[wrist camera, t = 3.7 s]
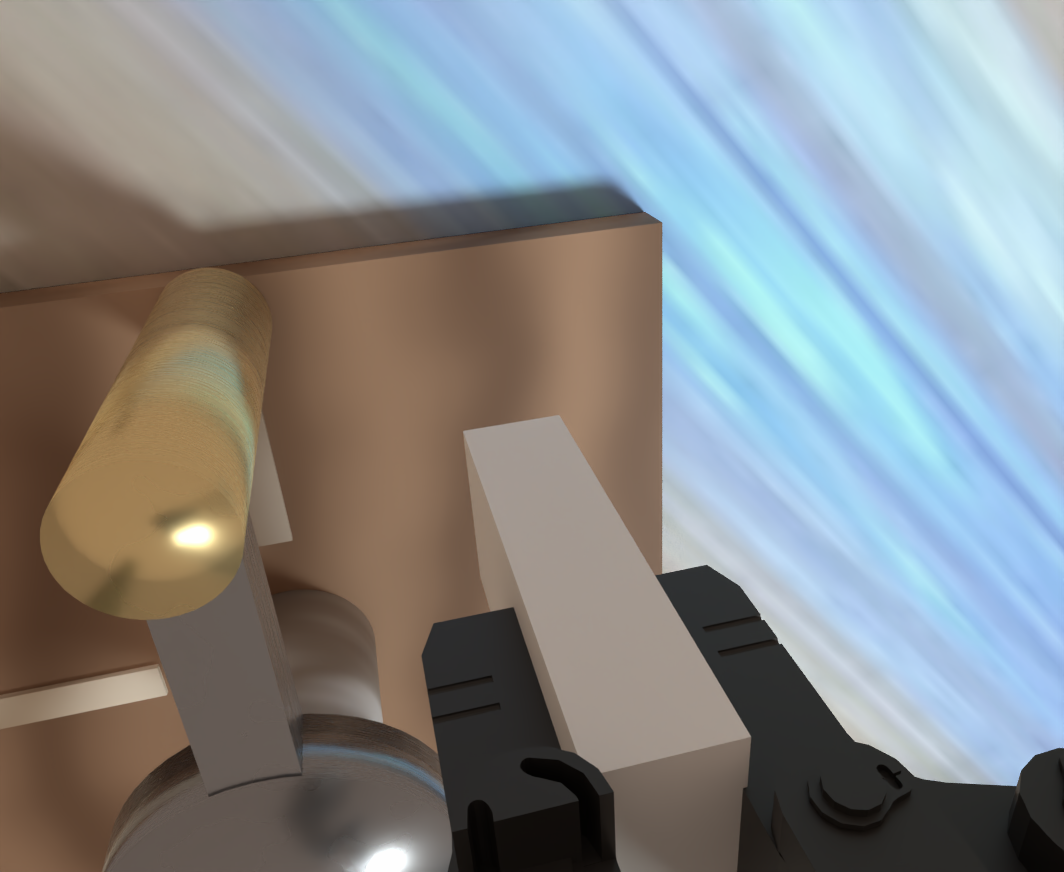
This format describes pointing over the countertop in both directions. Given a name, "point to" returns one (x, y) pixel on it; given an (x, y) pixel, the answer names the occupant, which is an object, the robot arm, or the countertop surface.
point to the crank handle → (223, 619)
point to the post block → (315, 483)
